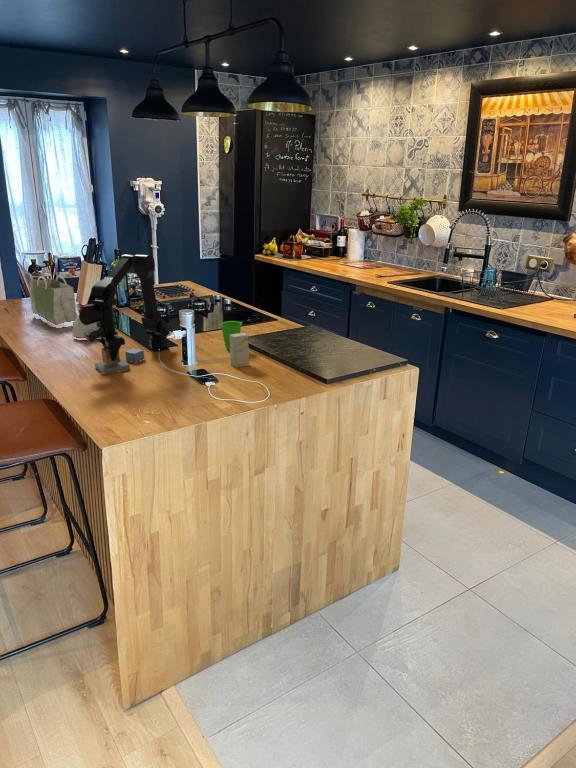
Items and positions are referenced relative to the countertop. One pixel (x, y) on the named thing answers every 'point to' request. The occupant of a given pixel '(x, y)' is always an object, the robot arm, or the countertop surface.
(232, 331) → the cup
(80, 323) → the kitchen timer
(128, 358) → the slate block
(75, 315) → the grocery bag
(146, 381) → the countertop surface
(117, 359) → the walnut cube
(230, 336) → the skincare box
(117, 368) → the slate pad
